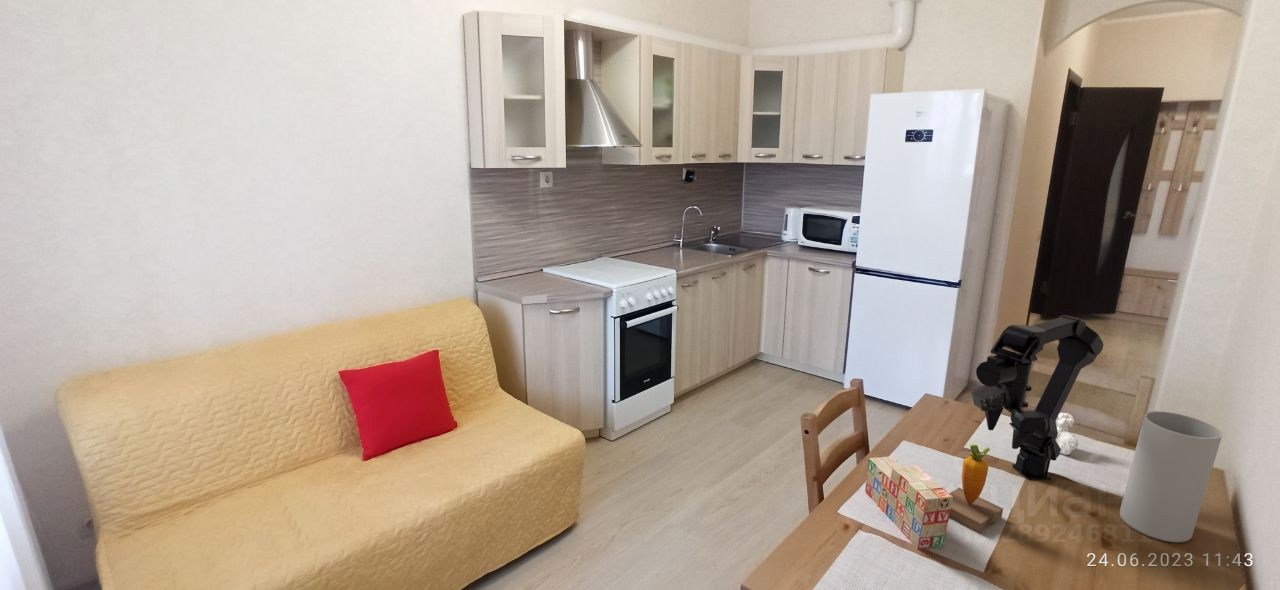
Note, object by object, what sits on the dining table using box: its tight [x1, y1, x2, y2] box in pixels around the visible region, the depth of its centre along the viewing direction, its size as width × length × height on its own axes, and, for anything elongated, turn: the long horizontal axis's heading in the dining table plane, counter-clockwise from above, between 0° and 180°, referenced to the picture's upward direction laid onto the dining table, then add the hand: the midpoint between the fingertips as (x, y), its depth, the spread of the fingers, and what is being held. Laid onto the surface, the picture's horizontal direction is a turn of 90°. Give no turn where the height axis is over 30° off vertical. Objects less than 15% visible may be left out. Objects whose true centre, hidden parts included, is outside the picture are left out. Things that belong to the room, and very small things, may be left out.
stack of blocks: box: [864, 455, 953, 550], centre depth 134 cm, size 21×6×12 cm, turn 10°
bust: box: [1056, 412, 1079, 456], centre depth 167 cm, size 12×8×11 cm
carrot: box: [961, 443, 991, 504], centre depth 134 cm, size 5×5×15 cm
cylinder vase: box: [1119, 410, 1223, 543], centre depth 131 cm, size 12×12×25 cm
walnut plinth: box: [948, 487, 1004, 535], centre depth 136 cm, size 10×10×2 cm
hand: (1002, 439), depth 145 cm, fingers open, 9 cm apart
